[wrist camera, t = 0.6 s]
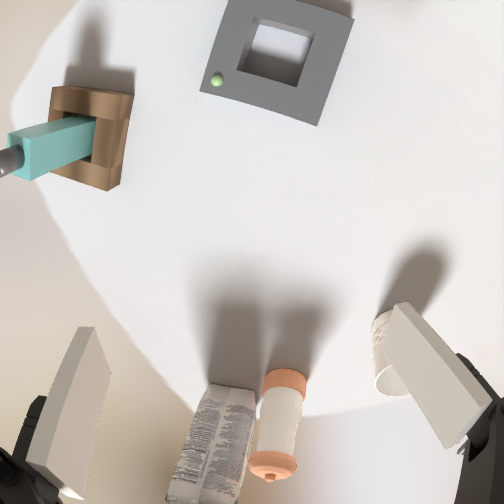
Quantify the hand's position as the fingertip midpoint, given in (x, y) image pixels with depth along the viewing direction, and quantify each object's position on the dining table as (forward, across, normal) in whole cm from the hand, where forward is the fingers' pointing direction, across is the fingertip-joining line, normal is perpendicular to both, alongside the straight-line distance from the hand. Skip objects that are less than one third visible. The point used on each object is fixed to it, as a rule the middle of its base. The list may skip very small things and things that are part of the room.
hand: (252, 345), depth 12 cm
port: (+22, +6, +16) cm, 28 cm away
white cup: (+19, +23, -17) cm, 35 cm away
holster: (+30, -17, +9) cm, 36 cm away
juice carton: (+29, 0, -39) cm, 49 cm away
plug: (+30, -17, +9) cm, 36 cm away
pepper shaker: (+25, +9, -32) cm, 42 cm away
